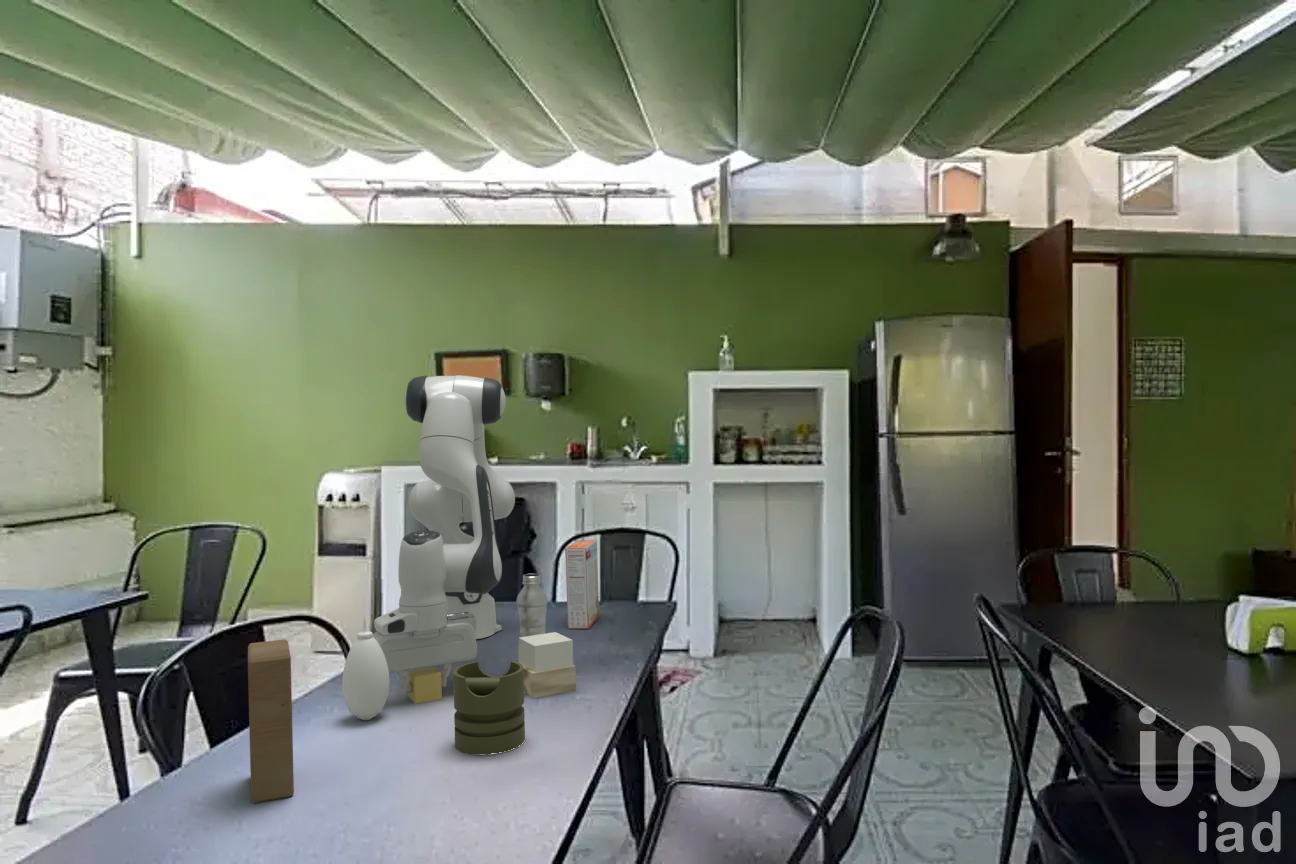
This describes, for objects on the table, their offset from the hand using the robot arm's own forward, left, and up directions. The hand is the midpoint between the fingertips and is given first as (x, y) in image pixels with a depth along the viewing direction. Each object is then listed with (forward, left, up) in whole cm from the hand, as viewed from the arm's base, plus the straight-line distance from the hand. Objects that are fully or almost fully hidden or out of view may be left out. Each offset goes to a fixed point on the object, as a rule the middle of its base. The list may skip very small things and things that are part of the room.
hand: (424, 689), depth 166 cm
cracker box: (-40, +52, -2) cm, 66 cm away
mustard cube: (0, 0, -2) cm, 2 cm away
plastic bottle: (-7, +25, -2) cm, 26 cm away
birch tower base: (+7, +22, -2) cm, 23 cm away
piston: (+29, +3, -2) cm, 29 cm away
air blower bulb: (+6, -12, -2) cm, 14 cm away
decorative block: (+29, -30, -2) cm, 42 cm away
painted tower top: (+7, +22, +3) cm, 23 cm away
